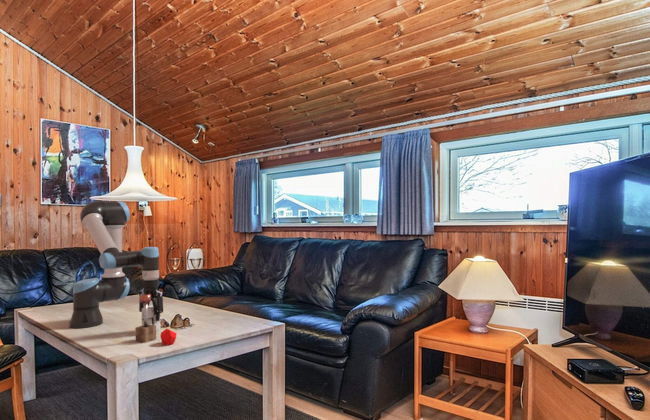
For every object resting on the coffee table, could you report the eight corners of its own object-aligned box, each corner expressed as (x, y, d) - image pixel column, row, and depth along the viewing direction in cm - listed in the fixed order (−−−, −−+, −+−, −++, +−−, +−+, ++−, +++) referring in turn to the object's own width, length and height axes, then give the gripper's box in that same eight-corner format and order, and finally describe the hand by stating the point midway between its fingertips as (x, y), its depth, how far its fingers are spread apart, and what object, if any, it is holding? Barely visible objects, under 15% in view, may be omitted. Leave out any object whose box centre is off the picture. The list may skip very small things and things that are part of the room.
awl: (138, 329, 183) (137, 295, 184) (146, 327, 187) (145, 293, 188) (145, 330, 182) (145, 295, 182) (153, 327, 186) (152, 294, 186)
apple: (179, 331, 176) (172, 322, 182) (162, 337, 172) (156, 327, 178) (180, 344, 179) (174, 334, 185) (164, 351, 175) (158, 340, 181)
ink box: (150, 333, 195) (150, 308, 195) (141, 333, 196) (140, 308, 196) (161, 329, 203) (160, 304, 204) (152, 328, 204) (151, 304, 205)
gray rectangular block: (174, 329, 202) (174, 328, 202) (188, 324, 212) (188, 323, 212) (180, 329, 201) (180, 329, 201) (194, 324, 210) (194, 324, 210)
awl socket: (135, 341, 183) (135, 327, 183) (146, 337, 188) (146, 324, 188) (145, 342, 180) (145, 328, 180) (156, 338, 186) (156, 325, 186)
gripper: (130, 279, 201) (130, 327, 200) (159, 280, 193) (160, 330, 193) (142, 277, 208) (143, 323, 207) (171, 278, 200) (172, 326, 199)
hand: (151, 327), depth 200 cm, fingers closed on ink box, 6 cm apart
